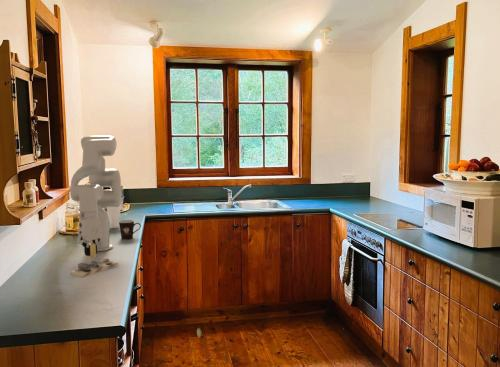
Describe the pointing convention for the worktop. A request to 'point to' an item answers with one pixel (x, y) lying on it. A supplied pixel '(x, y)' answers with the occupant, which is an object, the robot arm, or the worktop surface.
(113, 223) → the cup
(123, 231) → the coffee mug
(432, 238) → the worktop surface
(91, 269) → the board
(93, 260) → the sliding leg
